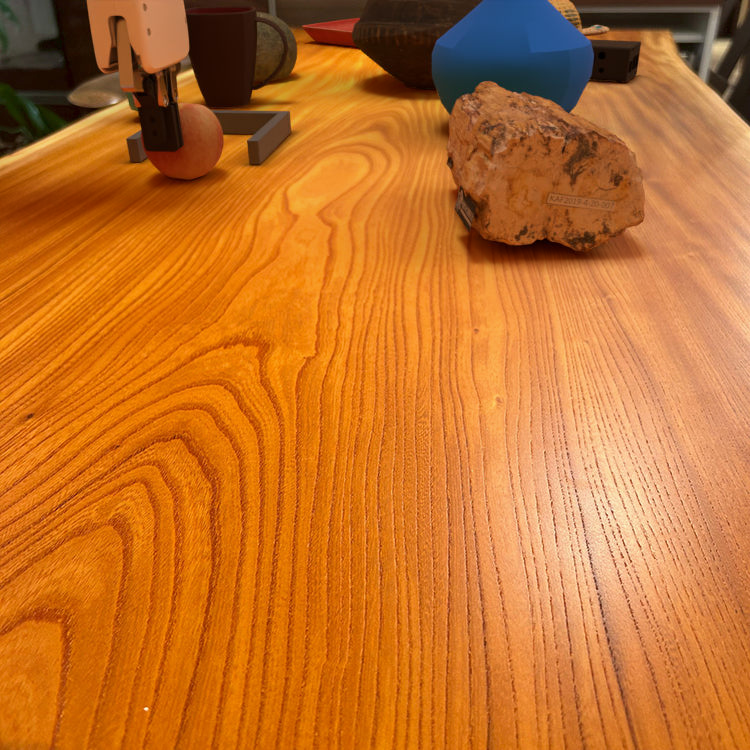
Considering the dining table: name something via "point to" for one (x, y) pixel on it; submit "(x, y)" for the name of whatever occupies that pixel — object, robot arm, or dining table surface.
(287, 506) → the dining table surface
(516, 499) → the dining table surface
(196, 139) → the apple
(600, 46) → the electronic device
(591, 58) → the vase
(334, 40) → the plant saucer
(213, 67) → the mug
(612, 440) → the dining table surface
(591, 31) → the decorative figurine
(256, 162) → the bay
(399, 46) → the ceramic pot
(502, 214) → the petrified wood
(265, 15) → the grey green rounded stone
